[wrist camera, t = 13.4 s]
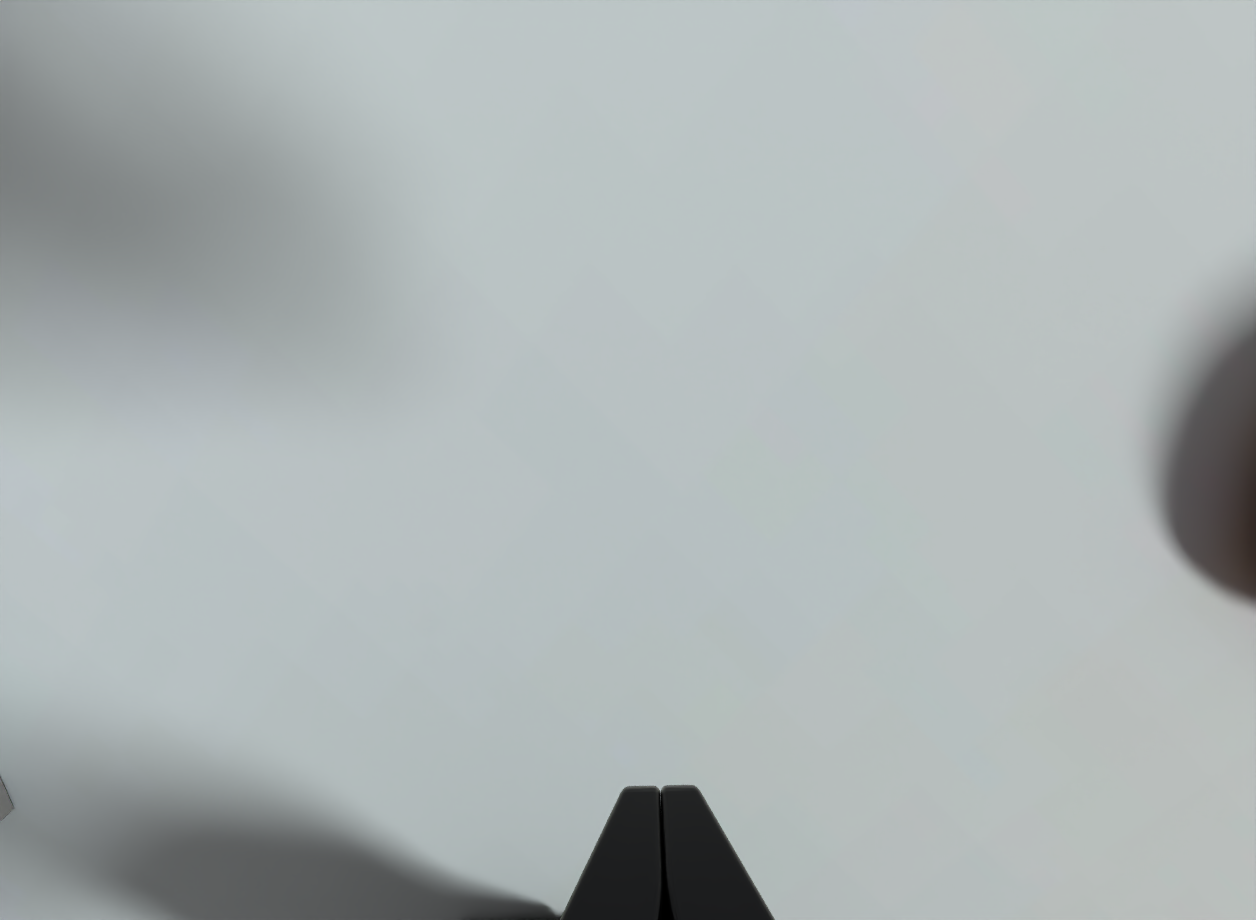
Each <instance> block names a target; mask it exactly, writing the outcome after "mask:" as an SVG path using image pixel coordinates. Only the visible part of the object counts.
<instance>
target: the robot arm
mask: <svg viewBox="0 0 1256 920" xmlns="http://www.w3.org/2000/svg"><path fill="white" fill-rule="evenodd" d="M560 920H775V919H774V917H773V916H772V914H771V912H770V911H769V909H768V907H767V905H766V904H765V902H764V900H763V899H762V897H761V895H760V893H759V892H758V890H757V888H756V886H755V885H754V883H753V881H752V880H751V878H750V876H749V874H748V873H747V871H746V869H745V868H744V866H743V864H742V862H741V861H740V859H739V857H738V855H737V854H736V852H735V850H734V849H733V847H732V845H731V843H730V842H729V840H728V838H727V837H726V835H725V833H724V831H723V830H722V828H721V826H720V824H719V823H718V821H717V819H716V818H715V816H714V814H713V812H712V811H711V809H710V807H709V806H708V804H707V802H706V800H705V799H704V797H703V795H702V793H701V792H700V790H699V789H698V788H697V787H696V786H694V785H667V786H664V787H663V788H662V790H661V800H660V790H659V789H658V788H657V787H656V786H628V787H626V788H624V789H623V791H622V792H621V793H620V795H619V797H618V800H617V802H616V804H615V806H614V808H613V810H612V812H611V814H610V816H609V818H608V820H607V823H606V825H605V827H604V829H603V831H602V833H601V835H600V837H599V839H598V841H597V843H596V845H595V848H594V850H593V852H592V854H591V856H590V858H589V860H588V862H587V864H586V866H585V868H584V871H583V873H582V875H581V877H580V879H579V881H578V883H577V885H576V887H575V889H574V891H573V893H572V896H571V898H570V900H569V902H568V904H567V906H566V908H565V910H564V912H563V914H562V916H561V918H560Z"/></svg>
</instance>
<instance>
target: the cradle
mask: <svg viewBox="0 0 1256 920" xmlns="http://www.w3.org/2000/svg"><path fill="white" fill-rule="evenodd" d="M13 809H14V807H13V805H12V803H11V801H10V798H9V796H8V794H7V792H6V789H5V787H4V785H3V783H2V780H1V778H0V821H1V820H2V819H4V818H5V817H6V816H7V815H8V814H9V813H10V812H11V811H12V810H13Z"/></svg>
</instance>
